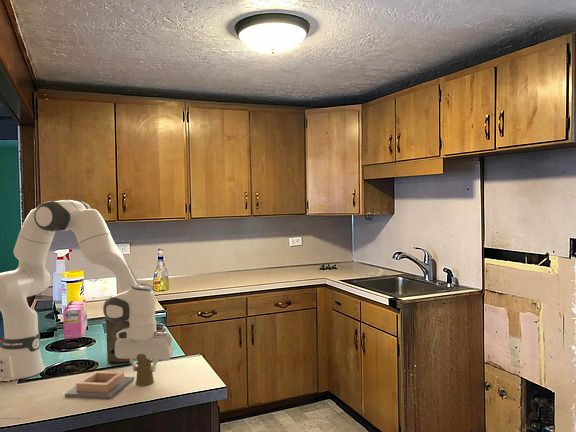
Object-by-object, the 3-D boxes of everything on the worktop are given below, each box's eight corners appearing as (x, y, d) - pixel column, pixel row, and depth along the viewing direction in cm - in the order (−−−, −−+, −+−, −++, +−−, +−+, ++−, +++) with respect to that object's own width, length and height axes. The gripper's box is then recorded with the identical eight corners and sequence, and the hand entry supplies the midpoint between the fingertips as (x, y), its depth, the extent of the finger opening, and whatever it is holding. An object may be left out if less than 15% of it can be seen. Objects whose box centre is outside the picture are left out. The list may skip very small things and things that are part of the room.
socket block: (65, 396, 153) (64, 386, 153) (93, 377, 168) (93, 368, 168) (110, 399, 150) (109, 388, 150) (134, 379, 166) (134, 370, 166)
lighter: (164, 343, 207) (163, 321, 207) (167, 345, 205) (167, 322, 204) (147, 347, 202) (146, 324, 202) (150, 349, 200) (149, 326, 199)
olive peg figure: (157, 381, 164) (156, 350, 164) (144, 387, 159) (143, 355, 158) (145, 378, 167) (144, 347, 167) (132, 384, 162) (131, 352, 161)
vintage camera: (142, 352, 198) (140, 305, 198) (131, 363, 182) (129, 312, 182) (119, 353, 198) (117, 306, 198) (106, 364, 182) (104, 313, 182)
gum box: (71, 326, 240) (70, 300, 240) (88, 324, 243) (87, 299, 242) (63, 339, 218) (62, 310, 217) (82, 337, 220) (80, 309, 219)
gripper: (175, 329, 164) (176, 368, 164) (121, 328, 167) (122, 366, 168) (167, 335, 157) (168, 375, 158) (111, 333, 161) (113, 373, 161)
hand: (144, 371), depth 163 cm, fingers closed on olive peg figure, 5 cm apart
